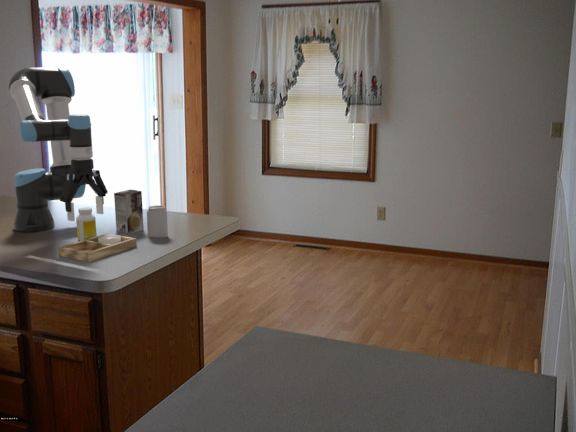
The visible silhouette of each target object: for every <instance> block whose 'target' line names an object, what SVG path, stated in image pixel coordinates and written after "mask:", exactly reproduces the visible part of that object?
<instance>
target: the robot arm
mask: <svg viewBox="0 0 576 432" xmlns="http://www.w3.org/2000/svg"><path fill="white" fill-rule="evenodd" d="M8 91H9V94H10V96H11V98H12V99H13V100H14V101H15V104H16V107H17V109H18V113H19V116H20V118H21V120H20V121H18V122H19V123H18V134H19V138H20V141H21V142H24V143H25V142H27V143H28V142H31V143H35V142H37V143H38V142H50V147H51V155H52V164H51V165H50V167H49V171H47V170H46V169H45V168H44V167H43V168H41V167H39V168H31V169H25V170H22V171H19V172H17V173H16V174H15V175H14V180H13V181H14V185H13V186H14V189H15V190H14V192H15V202H16V213H15V218H14V221H13V230H14V231H17V232H21V233H22V232H24V233H25V232H27V233H28V232H29V233H30V232H31V233H32V232H41V231H48V230H49V229H50V230H51V229H53V228H54V227H55V220H54V218H53V215H52V213H51V211H50V208H49V201H60V202H62V203H64V206H65V212H66V213H67V214H66V215H67V221H69V222H75V219H76V218H75V205H74V202H72V201H73V200H74V199H78V198H79V199H80V198H82V197H83V196H84V195H85V192H86V185H89V187H90V188H91V189H92V191H93V192H94V193H95V194H96V196H95V206H96V214H99V215H104V204H105V202H104V201H105V200H104V199H105V198H104V197H106V195H107V194H108V189H107V188H106V185H105V182H104V181H103V178H102V176H101V172H100V170H98V169H95V168H94V167H95V166H94V159H93V157H94V155H93V153H94V152H93V139H92V123H91V117H90V116H89V115H88V114H70V108H69V106H70V105H69V104H70V103H71V102H72V98H73V97H75V93H76V89H75V83H74V79H73V76H72V72H70V69H67V68H66V67H63V68H62V67H34V66H33V67H32V66H28V67H23V68H21V69H19V70H17V71H16V72H15V73H14V74H13V75H12V76H11V78H10V79H9V82H8ZM38 97H39V98H40V100H41V103H43V105H45V108H46V115H47V119H45V117H44V114H43V111H42V109H41V105H40V104H39V101H38V99H37V98H38Z"/></svg>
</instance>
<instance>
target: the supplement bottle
mask: <svg viewBox="0 0 576 432" xmlns="http://www.w3.org/2000/svg"><path fill="white" fill-rule="evenodd" d="M78 213H79V215H77V216H76V218H75V219H76V232H77V233H76V234H77V242H79V241H83V240H86V239H89V238H93V237H96V236H98V235H97V234H98V233H97V224H96V222H97V220H96V216H95V215H94V214H92V213H93V207H80V208H78Z"/></svg>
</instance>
